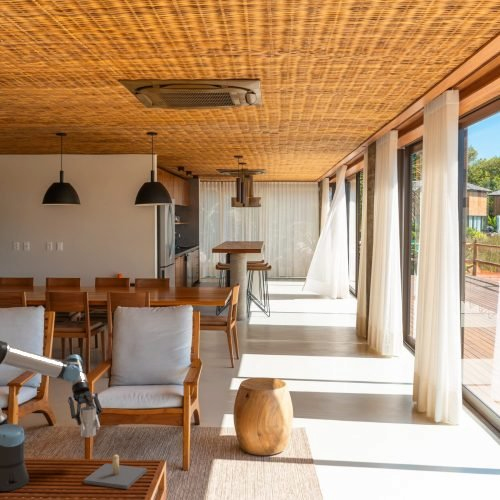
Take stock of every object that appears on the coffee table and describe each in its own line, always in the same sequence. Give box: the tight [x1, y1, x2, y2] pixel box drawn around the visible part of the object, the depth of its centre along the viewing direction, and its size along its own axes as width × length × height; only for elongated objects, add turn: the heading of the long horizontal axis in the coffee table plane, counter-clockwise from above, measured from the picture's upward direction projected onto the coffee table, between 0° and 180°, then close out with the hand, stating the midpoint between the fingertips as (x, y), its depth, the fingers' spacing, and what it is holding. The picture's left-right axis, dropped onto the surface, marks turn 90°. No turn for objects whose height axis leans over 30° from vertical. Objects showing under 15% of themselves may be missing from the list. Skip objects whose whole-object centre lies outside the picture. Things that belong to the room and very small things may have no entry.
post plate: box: [83, 454, 148, 490], centre depth 242 cm, size 20×18×10 cm
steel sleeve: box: [80, 405, 97, 438], centre depth 254 cm, size 6×6×12 cm
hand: (91, 429), depth 251 cm, fingers closed on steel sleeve, 6 cm apart
